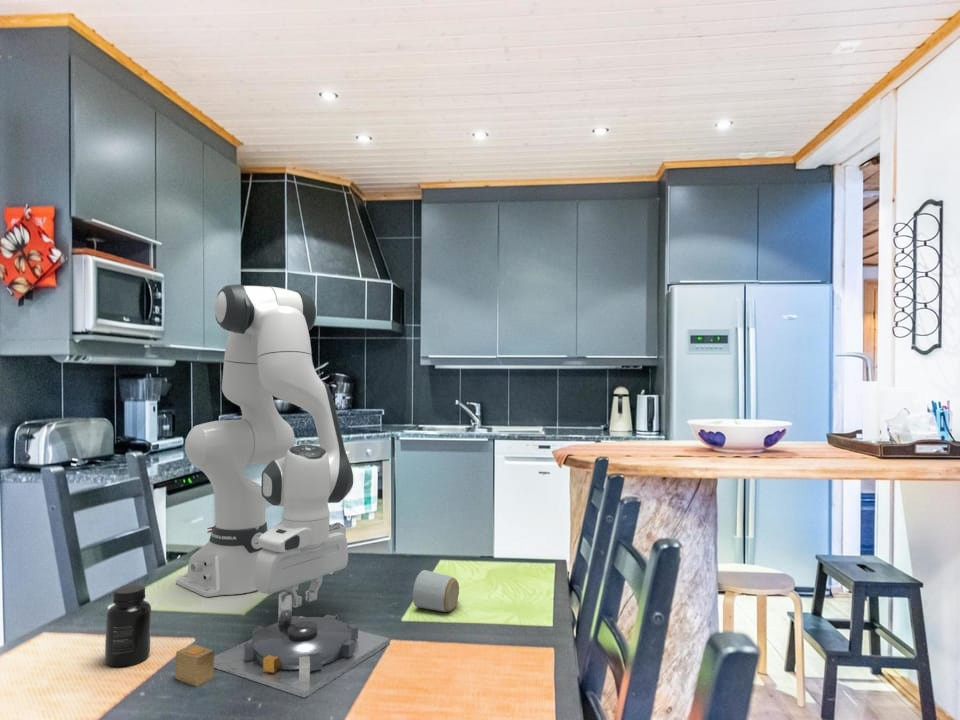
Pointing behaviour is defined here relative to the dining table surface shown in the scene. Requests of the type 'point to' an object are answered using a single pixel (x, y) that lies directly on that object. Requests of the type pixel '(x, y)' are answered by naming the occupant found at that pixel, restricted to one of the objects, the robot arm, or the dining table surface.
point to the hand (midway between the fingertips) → (303, 603)
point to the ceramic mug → (435, 591)
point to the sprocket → (300, 640)
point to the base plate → (292, 675)
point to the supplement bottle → (128, 627)
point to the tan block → (194, 665)
